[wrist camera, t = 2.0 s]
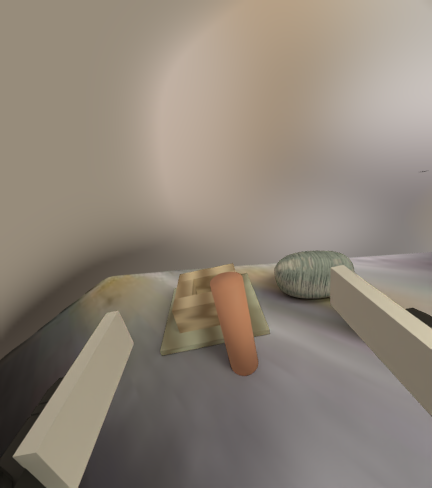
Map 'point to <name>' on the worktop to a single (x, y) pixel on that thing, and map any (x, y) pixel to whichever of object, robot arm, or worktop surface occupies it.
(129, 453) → the worktop surface
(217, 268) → the socket
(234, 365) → the peg
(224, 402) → the worktop surface
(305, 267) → the green striped ellipsoid
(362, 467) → the worktop surface
